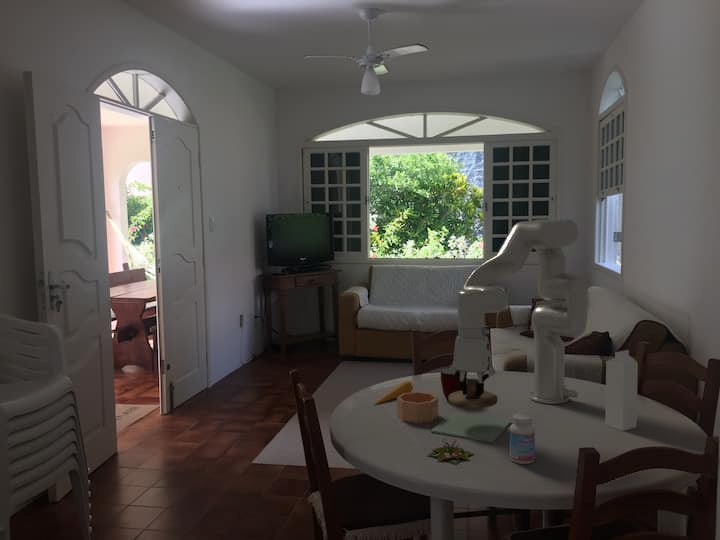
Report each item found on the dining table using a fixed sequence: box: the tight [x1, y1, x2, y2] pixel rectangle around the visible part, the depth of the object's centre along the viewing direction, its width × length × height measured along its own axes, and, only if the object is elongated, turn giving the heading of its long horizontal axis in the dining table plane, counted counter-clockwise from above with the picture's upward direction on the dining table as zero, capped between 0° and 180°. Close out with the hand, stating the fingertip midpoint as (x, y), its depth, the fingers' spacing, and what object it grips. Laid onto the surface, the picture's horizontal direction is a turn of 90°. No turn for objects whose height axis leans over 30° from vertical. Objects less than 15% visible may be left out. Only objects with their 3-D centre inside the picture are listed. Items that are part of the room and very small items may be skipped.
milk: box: [604, 349, 639, 432], centre depth 172 cm, size 6×6×22 cm
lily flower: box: [426, 437, 475, 465], centre depth 153 cm, size 12×12×5 cm
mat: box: [430, 411, 512, 443], centre depth 174 cm, size 18×18×1 cm
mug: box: [440, 367, 461, 402], centre depth 199 cm, size 10×8×10 cm
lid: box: [448, 378, 498, 409], centre depth 173 cm, size 14×14×6 cm
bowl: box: [396, 391, 439, 424], centre depth 184 cm, size 12×12×6 cm
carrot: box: [373, 381, 414, 406], centre depth 204 cm, size 20×4×4 cm, turn 138°
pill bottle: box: [509, 413, 536, 465], centre depth 149 cm, size 6×6×11 cm
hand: (472, 394), depth 173 cm, fingers closed on lid, 3 cm apart
